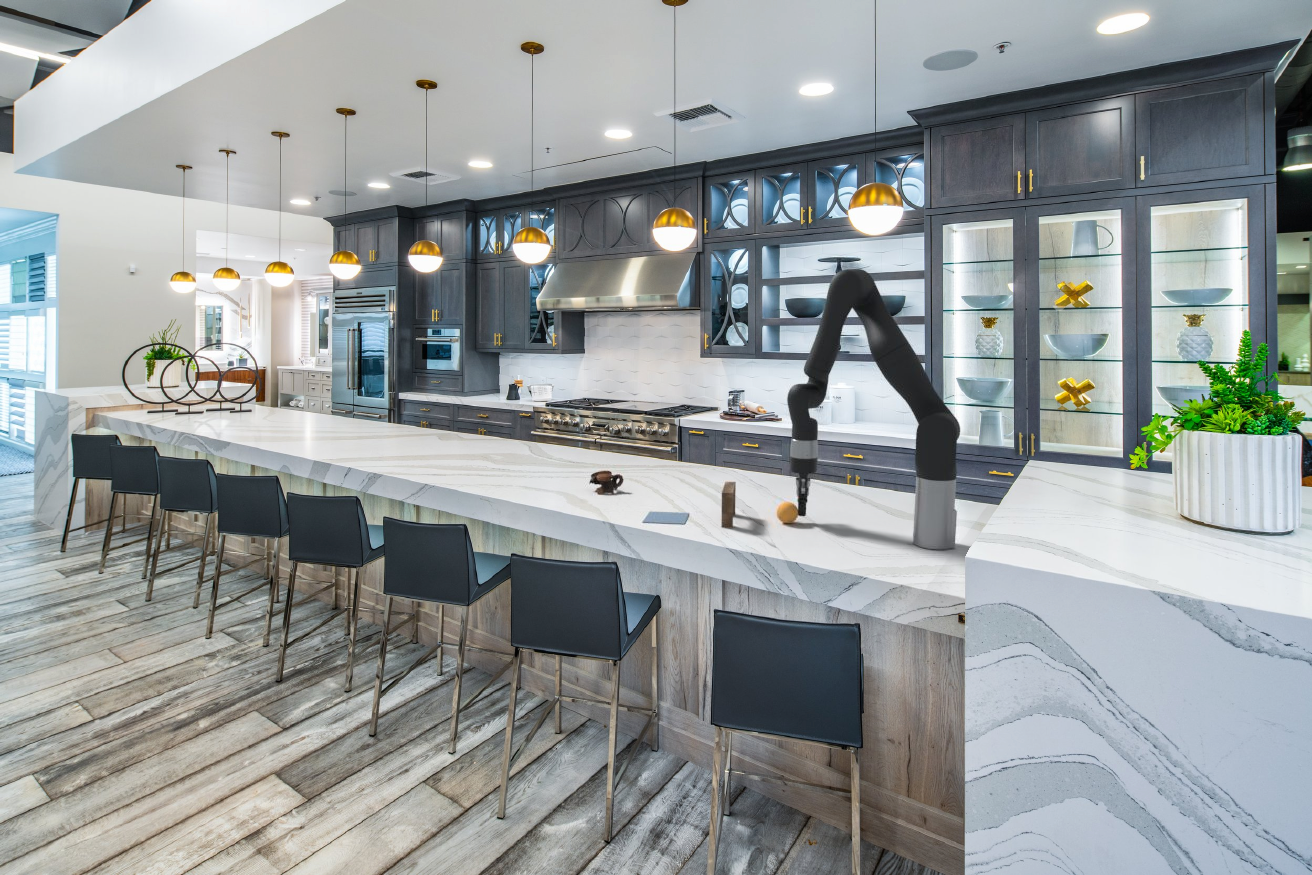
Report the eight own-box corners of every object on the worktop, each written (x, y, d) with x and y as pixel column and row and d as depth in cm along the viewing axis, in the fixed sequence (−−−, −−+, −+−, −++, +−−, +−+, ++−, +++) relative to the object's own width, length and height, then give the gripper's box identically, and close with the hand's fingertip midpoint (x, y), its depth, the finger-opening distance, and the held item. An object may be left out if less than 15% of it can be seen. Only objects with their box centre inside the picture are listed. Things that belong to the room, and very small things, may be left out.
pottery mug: (588, 496, 230) (584, 473, 232) (596, 502, 238) (592, 480, 241) (622, 487, 228) (618, 464, 231) (629, 494, 237) (625, 472, 240)
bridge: (735, 513, 203) (735, 481, 202) (732, 527, 188) (732, 493, 187) (725, 513, 204) (725, 481, 202) (721, 527, 189) (721, 492, 188)
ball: (798, 500, 194) (777, 497, 195) (800, 507, 189) (779, 504, 189) (795, 520, 196) (774, 517, 196) (797, 527, 190) (775, 524, 190)
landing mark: (689, 513, 204) (689, 512, 204) (684, 524, 192) (684, 523, 192) (649, 512, 206) (649, 511, 206) (642, 522, 194) (642, 521, 194)
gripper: (818, 459, 183) (816, 522, 186) (816, 451, 196) (814, 510, 199) (790, 458, 185) (788, 520, 187) (790, 450, 198) (788, 509, 200)
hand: (801, 515), depth 193 cm, fingers closed
